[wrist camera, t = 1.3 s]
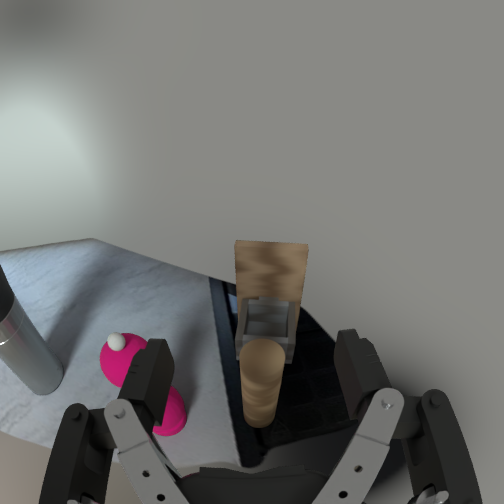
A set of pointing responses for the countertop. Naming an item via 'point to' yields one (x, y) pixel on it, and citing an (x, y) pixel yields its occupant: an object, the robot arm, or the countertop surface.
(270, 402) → the oak post
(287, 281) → the cup bracket
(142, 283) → the countertop surface
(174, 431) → the pepper mill
